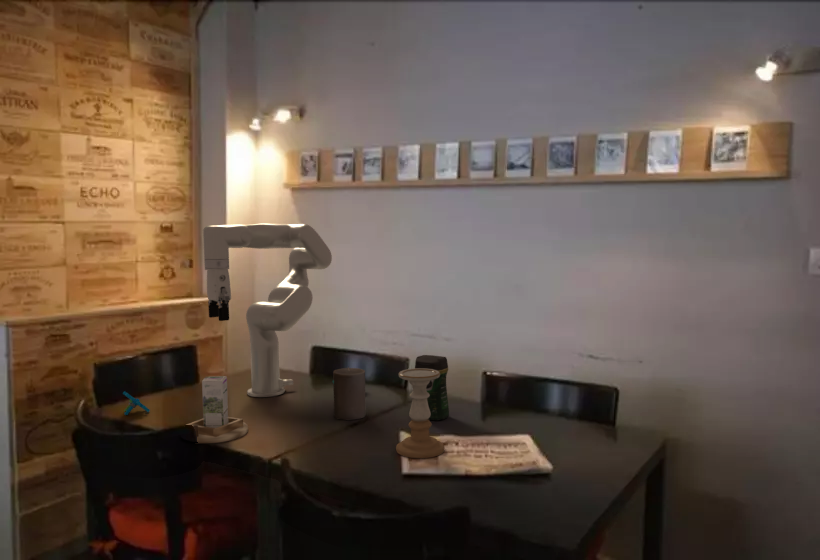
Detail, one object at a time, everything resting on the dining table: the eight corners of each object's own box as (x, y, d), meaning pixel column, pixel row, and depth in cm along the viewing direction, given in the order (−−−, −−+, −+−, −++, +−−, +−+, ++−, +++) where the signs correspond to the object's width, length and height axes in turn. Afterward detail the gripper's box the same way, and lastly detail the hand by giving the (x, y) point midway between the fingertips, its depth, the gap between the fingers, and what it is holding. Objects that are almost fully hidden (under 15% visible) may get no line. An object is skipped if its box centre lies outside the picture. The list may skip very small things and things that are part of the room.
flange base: (212, 421, 205) (212, 407, 204) (261, 428, 196) (260, 413, 196) (166, 438, 188) (165, 423, 188) (217, 446, 180) (216, 431, 180)
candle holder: (397, 443, 181) (396, 367, 180) (444, 442, 181) (443, 367, 179) (394, 459, 169) (393, 378, 168) (445, 458, 169) (444, 377, 167)
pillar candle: (328, 418, 205) (326, 369, 204) (343, 410, 214) (342, 362, 213) (357, 421, 202) (356, 371, 201) (371, 413, 211) (370, 364, 210)
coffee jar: (452, 416, 206) (452, 354, 205) (440, 422, 199) (439, 359, 198) (424, 411, 211) (423, 351, 210) (411, 418, 204) (410, 356, 203)
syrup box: (229, 425, 195) (227, 375, 194) (224, 431, 189) (222, 379, 188) (208, 426, 195) (206, 375, 194) (203, 432, 189) (201, 380, 188)
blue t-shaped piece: (154, 410, 211) (128, 390, 208) (140, 426, 209) (114, 406, 206) (148, 407, 221) (123, 388, 218) (135, 422, 219) (109, 403, 215)
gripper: (237, 265, 212) (239, 320, 214) (219, 263, 227) (221, 315, 228) (213, 266, 208) (215, 322, 209) (196, 264, 222) (198, 317, 224)
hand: (218, 318), depth 219 cm, fingers open, 9 cm apart
